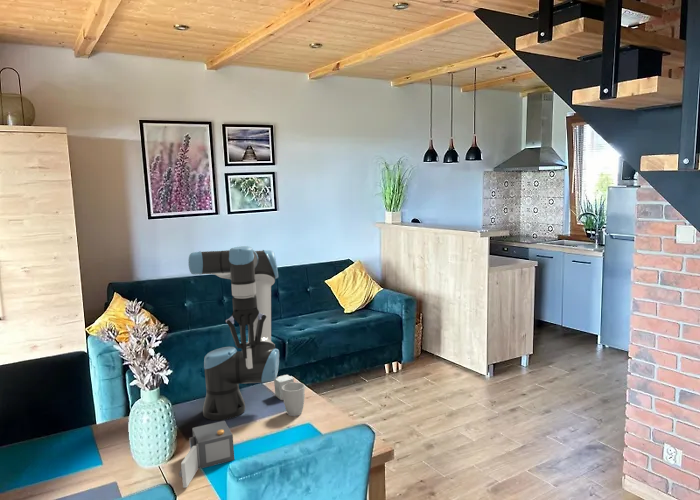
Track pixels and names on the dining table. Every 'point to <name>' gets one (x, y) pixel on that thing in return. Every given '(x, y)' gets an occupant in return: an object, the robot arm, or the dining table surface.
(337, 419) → the dining table surface
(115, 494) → the dining table surface
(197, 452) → the side door
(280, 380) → the skincare box
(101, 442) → the dining table surface
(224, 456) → the grey boxy piece
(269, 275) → the robot arm
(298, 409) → the cup
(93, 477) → the dining table surface
